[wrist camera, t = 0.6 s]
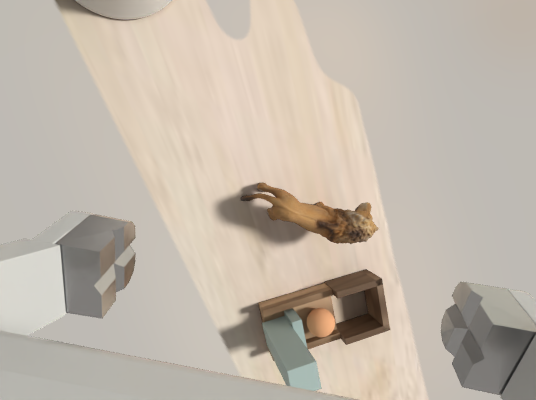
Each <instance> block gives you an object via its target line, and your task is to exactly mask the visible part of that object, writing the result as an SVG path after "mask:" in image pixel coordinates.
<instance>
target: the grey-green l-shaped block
mask: <svg viewBox="0 0 536 400" xmlns="http://www.w3.org/2000/svg"><path fill="white" fill-rule="evenodd" d="M284 315H285V316H282V317H279V318H276V319H273V320H270V321H266V322H263V323H262V325H263V330H264V334H265V339H266V343H267V346H268V348H269V350H270V352H271V354H272V356H273V358H274V361H275V363H276V365H277V367H278V369H279V371H280V373H281V375H282V377H283V379H284V381H285V383H286V385H287V386H291V387H296V388H301V389H306V390H311V391H316V390H319V389H322V388H321V383H320V378H319V373H318V368H317V363H316V361H315V359H314V358H313V356H312V355H311V353H310V352H309V350H308V349H307V344H306V339H305V334H304V329H303V324H302V319H301V318H300V317H299V315H298V314H297V313H296V312H295V310H294V309H293V308H291V309H287V310H284Z"/></svg>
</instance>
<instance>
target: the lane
mask: <svg viewBox="0 0 536 400" xmlns="http://www.w3.org/2000/svg"><path fill="white" fill-rule="evenodd" d="M332 295H333V292H332V289H331V288H330V287H329V286H327V285H326V284H325V283H323V284H320V285H316V286H313V287H310V288H306V289H303V290H300V291H296V292H293V293H290V294H286V295H283V296H280V297H276V298H273V299H270V300H266V301H263V302H260V303H258V304H259V309H260V313H261V318H262V322H266V321H270V320H273V319H276V318H279V317H282V316H285V315H284V310H287V309H291V308H293V309H294V310H295V312H296V313H297V314H298V315H299V317H300V318H301V319H302V324H303V329H304V334H305V339H306V344H307V349H311V348H314V347H316V346H319V345H322V344H325V343H328V342H331V341H334V340H337V339H340V338H341V335H340V332H339V331H338V330H337V327H336V322H335V327H334V330H333V331H332V333H331V334H330V335H328V336H326V337H317V336H315V335H313V334H312V333H311V332H310V331H309V329H308V327H307V317H308V315H309V313H310V312H311V311H312V310H314V309H316V308H324V309H327V310H328V311H330V312H331V313H332V315H333V317H334V319H335V316H334V311H333V306H332V300H331V296H332ZM268 349H269V348H268ZM269 352H270V350H269ZM270 354H271V352H270ZM271 356H272V354H271ZM272 358H273V356H272ZM273 361H274V358H273Z"/></svg>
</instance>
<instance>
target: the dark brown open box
mask: <svg viewBox="0 0 536 400" xmlns="http://www.w3.org/2000/svg"><path fill="white" fill-rule="evenodd" d="M324 283H325V284H326V285H327V286H329V287H330V288H331V289H332V292H333V295H334V296H336V297H337V298H341V297H344V296H347V295H351V294H354V293H357V292H360V291H363V290H364V291H365V297H366V303H367V309H368V314H366V315H363V316H359V317H356V318H353V319H350V320H347V321H344V322H341V323H338V324H336V327H337V330H338V331H339V332H340V335H341V339H342V341H343V342H344V343H345V344H346V345H347V344H350V343H353V342H356V341H359V340H362V339H365V338H368V337H371V336H374V335H377V334H380V333H383V332H385V331H388V330H390V326H389V320H388V314H387V308H386V302H385V295H384V289H383V283H382V278H380V277H378V276H377V275H375V274H373V273H372V272H370V271H368V270H367V269H366V270H362V271H359V272H356V273H352V274H349V275H346V276H342V277H339V278H336V279H332V280H329V281H326V282H324Z"/></svg>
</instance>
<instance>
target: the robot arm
mask: <svg viewBox="0 0 536 400" xmlns="http://www.w3.org/2000/svg"><path fill="white" fill-rule="evenodd" d="M75 1H76V2H78V3H79V4H80V5H82V6H83V7H85V8H87V9H88V10H90V11H92V12H95V13H97V14H99V15H102V16H105V17H109V18H114V19H125V20H127V19H138V18H143V17H146V16H149V15H152V14H154V13H156V12H158V11H160V10H161V9H163V8H164V7H165V6H167V5H168V4H169V3H170V2H171V1H172V0H75ZM134 239H135V225H134V224H133V222H131V221H126V220H121V219H116V218H111V217H106V216H101V215H96V214H92V213H86V212H79V211H70V212H69V213H68V214H66V215H65V216H63V217H62V218H61V219H59V220H58V221H56V222H55V223H54V224H52V225H51V226H49V227H48V228H47V229H45V230H44V231H43V232H41V233H40V234H38V235H37V236H36V237H34V238H33V239H32V240H30V239H21V240H17V241H13V242H10V243H5V244H1V245H0V400H358V399H353V398H348V397H342V396H337V395H332V394H327V393H322V392H317V391H311V390H306V389H301V388H296V387H291V386H286V385H280V384H275V383H270V382H265V381H260V380H255V379H249V378H244V377H239V376H233V375H229V374H223V373H218V372H213V371H208V370H203V369H198V368H192V367H187V366H182V365H177V364H171V363H167V362H161V361H156V360H151V359H146V358H141V357H136V356H130V355H125V354H120V353H115V352H110V351H104V350H99V349H94V348H89V347H84V346H79V345H74V344H68V343H63V342H58V341H53V340H48V339H42V338H37V337H32V336H28V335H30V334H32V333H33V332H35V331H37V330H39V329H41V328H42V327H44V326H46V325H48V324H50V323H52V322H53V321H55V320H57V319H59V318H61V317H62V316H64V315H66V313H71V314H78V315H83V316H90V317H96V318H103V317H104V316H105V314H106V313H107V311H108V310H109V309H110V307H111V306H112V305H113V303H114V302H115V301H116V292H118V291H120V290H122V289H124V288H125V287H126V286H127V284H128V283H129V281H130V279H131V276H132V274H133V271H134V266H135V252H134V250H133V249H132V247H131V246H130V243H132V241H133V240H134ZM452 297H453V299H454V302H455V304H454V305H453V306H451V307H450V308H448V309H447V310H446V311H445V314H444V316H443V319H442V324H441V336H442V341H443V344H444V346H445V348H446V349H447V350H448V351H449V352H450V353H451V354H452V355H453V356H454V357H455V358H454V360H453V362H452V365H453V367H454V369H455V372H456V374H457V376H458V379H459V381H460V383H461V385H462V387H464V388H469V389H474V390H478V391H483V392H487V393H492V394H497V395H501V398H502V399H503V400H536V300H535V299H534V298H533V297H532V296H531V295H530V294H528V293H527V292H524V291H519V290H511V289H505V288H499V287H492V286H486V285H480V284H473V283H466V282H460V283H459V284H458V285H457V286H456V288H455V290H454V292H453V295H452Z"/></svg>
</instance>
